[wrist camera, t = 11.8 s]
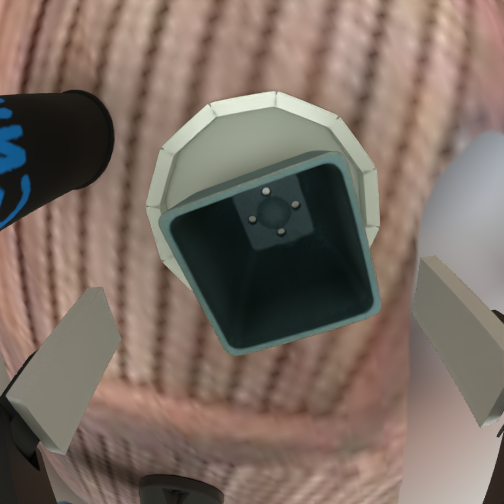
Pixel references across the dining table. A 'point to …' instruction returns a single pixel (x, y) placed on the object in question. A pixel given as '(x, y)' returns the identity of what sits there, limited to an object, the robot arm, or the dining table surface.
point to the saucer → (252, 154)
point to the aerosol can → (49, 148)
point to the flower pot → (276, 252)
